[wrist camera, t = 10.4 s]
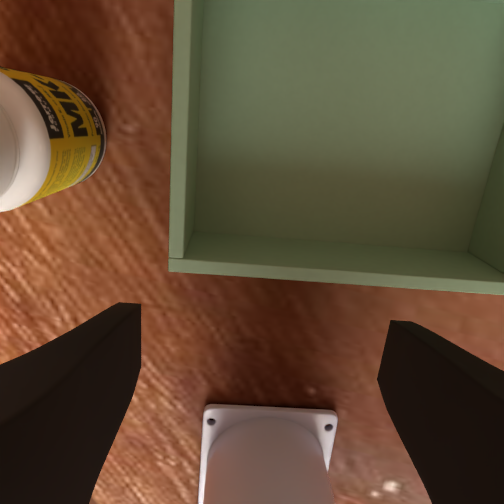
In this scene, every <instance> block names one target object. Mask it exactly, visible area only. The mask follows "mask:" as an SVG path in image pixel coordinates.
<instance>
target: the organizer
mask: <svg viewBox="0 0 504 504" xmlns="http://www.w3.org/2000/svg"><path fill="white" fill-rule="evenodd" d="M168 271H170V272H184V273H199V274H213V275H227V276H241V277H255V278H270V279H284V280H298V281H312V282H326V283H341V284H355V285H369V286H383V287H397V288H411V289H426V290H440V291H454V292H468V293H482V294H497V295H504V0H174V28H173V74H172V120H171V166H170V212H169V259H168Z"/></svg>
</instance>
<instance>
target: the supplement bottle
mask: <svg viewBox="0 0 504 504" xmlns="http://www.w3.org/2000/svg"><path fill="white" fill-rule="evenodd" d="M105 150H106V130H105V126H104V123H103V120H102V117H101V115H100V113H99V111H98V110H97V108H96V107H95V105H94V104H93V103H92V101H91V100H90V99H89V98H88V97H87V96H86V95H85V94H84V93H83V92H81V91H80V90H79V89H77V88H75V87H74V86H72V85H70V84H68V83H66V82H64V81H61V80H58V79H54V78H49V77H45V76H40V75H36V74H31V73H27V72H22V71H17V70H14V69H8V68H4V67H0V212H4V211H9V210H12V209H15V208H18V207H20V206H23V205H25V204H27V203H30V202H33V201H35V200H38V199H40V198H43V197H45V196H48V195H50V194H53V193H55V192H58V191H60V190H63V189H66V188H68V187H70V186H73V185H75V184H78V183H80V182H82V181H84V180H86V179H87V178H88V177H90V176H91V175H92V174H93V173H94V172H95V171H96V170H97V168H98V167H99V165H100V164H101V162H102V160H103V157H104V154H105Z"/></svg>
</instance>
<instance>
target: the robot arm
mask: <svg viewBox="0 0 504 504" xmlns="http://www.w3.org/2000/svg"><path fill="white" fill-rule="evenodd" d="M140 368H141V304H135V303H120V302H119V303H117V304H115V305H113V306H111V307H109V308H108V309H106V310H104V311H103V312H101V313H99V314H98V315H96V316H94V317H93V318H91V319H89V320H88V321H86V322H84V323H83V324H81V325H79V326H78V327H76V328H74V329H72V330H71V331H69V332H67V333H65V334H63V335H61V336H60V337H58V338H56V339H54V340H52V341H50V342H48V343H46V344H44V345H43V346H41V347H39V348H37V349H35V350H33V351H31V352H28V353H26V354H24V355H22V356H20V357H17V358H15V359H13V360H10V361H8V362H5V363H3V364H1V365H0V504H89V502H90V498H91V496H92V493H93V490H94V487H95V484H96V482H97V479H98V476H99V474H100V471H101V469H102V466H103V464H104V462H105V460H106V457H107V455H108V453H109V450H110V448H111V446H112V443H113V441H114V439H115V437H116V434H117V432H118V430H119V427H120V425H121V423H122V420H123V418H124V416H125V413H126V411H127V409H128V406H129V404H130V402H131V399H132V397H133V393H134V390H135V387H136V383H137V380H138V376H139V372H140ZM377 381H378V384H379V387H380V390H381V394H382V397H383V400H384V403H385V405H386V408H387V411H388V413H389V415H390V417H391V419H392V421H393V423H394V426H395V428H396V430H397V432H398V434H399V436H400V438H401V440H402V442H403V444H404V446H405V448H406V450H407V452H408V454H409V456H410V458H411V460H412V462H413V464H414V466H415V468H416V470H417V472H418V474H419V476H420V478H421V480H422V482H423V484H424V486H425V488H426V491H427V493H428V495H429V497H430V500H431V502H432V504H504V371H502V370H500V369H498V368H496V367H494V366H492V365H491V364H489V363H487V362H485V361H483V360H481V359H480V358H478V357H476V356H474V355H472V354H471V353H469V352H467V351H465V350H464V349H462V348H460V347H458V346H457V345H455V344H453V343H451V342H450V341H448V340H446V339H444V338H443V337H441V336H439V335H437V334H436V333H434V332H432V331H430V330H428V329H426V328H424V327H422V326H420V325H418V324H416V323H413V322H411V321H395V320H391V321H390V325H389V329H388V334H387V338H386V342H385V347H384V351H383V356H382V360H381V364H380V369H379V373H378V377H377ZM210 418H213V419H215V420H212V421H211V420H209V419H210ZM337 423H338V417H337V414H336V412H334V411H333V410H323V409H303V408H284V407H264V406H244V405H225V404H209V405H207V406H206V407H205V408H204V412H203V426H202V443H201V459H200V476H199V492H198V504H335V500H334V496H333V492H332V488H331V484H330V480H329V476H328V468H329V463H330V458H331V453H332V448H333V443H334V438H335V433H336V428H337ZM327 424H331V425H329V426H325V425H327Z"/></svg>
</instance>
